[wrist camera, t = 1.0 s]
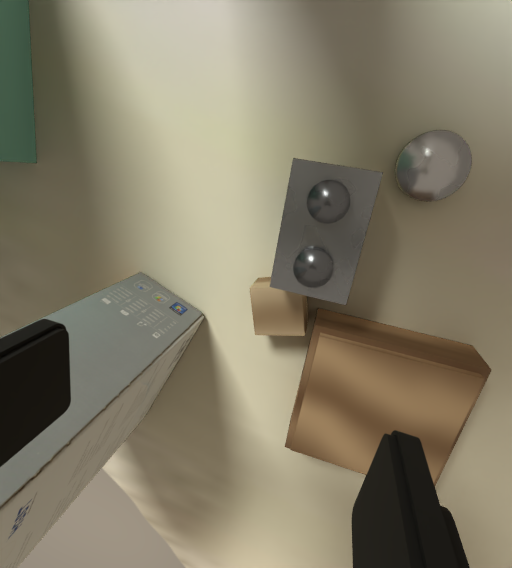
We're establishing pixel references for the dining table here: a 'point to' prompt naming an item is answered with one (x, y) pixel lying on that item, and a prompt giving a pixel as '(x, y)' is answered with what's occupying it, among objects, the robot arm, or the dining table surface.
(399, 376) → the tray
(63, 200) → the dining table surface
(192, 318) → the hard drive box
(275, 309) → the oak offcut
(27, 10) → the box
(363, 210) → the block
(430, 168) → the chrome dome
